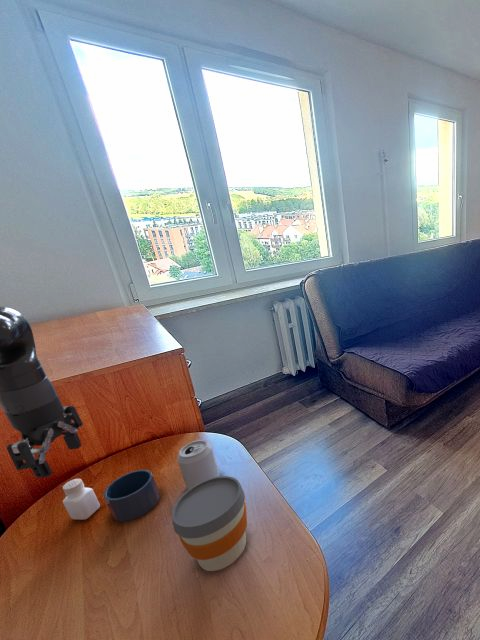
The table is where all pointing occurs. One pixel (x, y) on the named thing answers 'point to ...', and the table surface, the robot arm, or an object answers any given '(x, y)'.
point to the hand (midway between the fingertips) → (61, 461)
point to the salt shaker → (79, 500)
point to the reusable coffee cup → (212, 522)
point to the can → (197, 462)
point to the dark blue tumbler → (132, 495)
